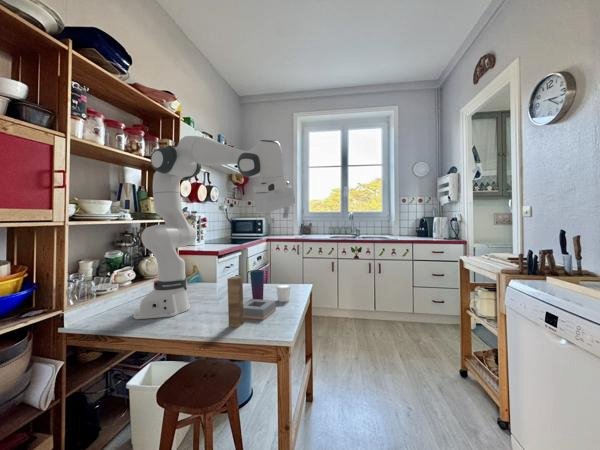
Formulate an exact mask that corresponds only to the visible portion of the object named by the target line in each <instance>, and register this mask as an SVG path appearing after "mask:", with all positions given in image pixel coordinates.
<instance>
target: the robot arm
mask: <svg viewBox="0 0 600 450" xmlns="http://www.w3.org/2000/svg"><path fill="white" fill-rule="evenodd" d="M284 161H285V160H284V155H283V149H282V146H281V144H280V142H279V141H278V140H272V139H271V140H270V139H260V140H259V141H257V143H256V144H255V146H253V147H252V148H250V149H249V150H245V149H242V148H241V149H240V148H237V147H233V146H230V145H228V144H225V143H222V142H219V141H216V140H213V139H211V138H208V137H204V136H198V135H185V136H183V137H182V138H180V139H179V141H178V144H177V146H175V147H174V146H173V145H169V144H168V145H167V146H163V147H158V148H156V149H155V150H154V151H153V152H152V153H151V155H150V165H151V168H153V170H155V172H154V173H153V178H152V198H153V208H154V212H155V213H156V214H157V215H158V216H159V217H161V218H162V220H163V221H164V224H155V225H151V226H148V227H145V228H144V230H143V231H142V233H141V238H140V239H141V243H142V245H143V246H144V247H145V248H146V249H148V251H150V252H151V253H152V254H153V256H154V259H155V261H156V264H157V271H158V273H157V274H158V276H157V277H158V279H154V280H153V289H152V290H151V291H150V292H149V293H148V294H147V295H145V296H144V297H143V298H142V299H141V301H140V303H139V308H138V309H136V311H135V312H134V313H133V317H132V318H133V319H134V320H146V319H147V320H148V319H156V318H168V317H169V318H170V317H175V316H177V315H178V314H181V313H184V312H186V311H188V310H190V309H191V305H190V302H189V298H188V280H187V279H188V278H187V277H186V261H185V260H184V258H182V257H181V256H180V255H178V253H177V250H176V249H177V248H184V247H187V246H189V245H192V244H193V243H194V242H195V241H196V239H197V238H196V237H197V233H196V232H197V231H196V229H195V228H194V227H193V226H192V225H191V224H190V223H189V222H188V221H187V218H186V216H185V214H184V211H183V207H182V198H181V191H180V189H181V188H180V182H181V180H183V181H188V180H190V179H192V178H195V177H197V176H198V175H199V174H200V172H201V171H202V166H209V167H210V166H211V167H212V166H214V167H215V166H224V165H237V169H238V171H239V173H240V174H241V175H242V176H243V177H245V178H257V177H261V180H260V182H258V183H257V184H255V185H254V186H253V188H252V191H253V193H255V194H254V197H253V199H254V201H253V202H254V209H255V212H256V214H258V215H264V218H266V219H267V224H268V225H272V224H274V222H275V220H274V218H272V216H271V215H272V212H275V211H277V210H281V209H283V213H282V218H283V219H287V218H289V213H290V208H291V207H290V206H292V205H295V202H296V199H295V197H296V196H295V192H294V189H293V187H292V184H291V183H290V182H289V181H286V180H287V179H286V174H285V170H284V165H285V163H284Z"/></svg>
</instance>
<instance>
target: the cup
mask: <svg viewBox="0 0 600 450" xmlns="http://www.w3.org/2000/svg"><path fill="white" fill-rule="evenodd" d="M249 275H250V285H251V287H250V288H251V295H252V297H251V299H259V300H264V287H265V286H264V285H265V282H264V281H265V280H264V279H265V269H252V270H249Z"/></svg>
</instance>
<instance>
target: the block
mask: <svg viewBox="0 0 600 450" xmlns="http://www.w3.org/2000/svg"><path fill="white" fill-rule="evenodd" d="M243 282H244V281H243V276H232V277H228V278H227V303H228V304H227V307H228V308H227V309H228V312H227V313H228V326H229V327H232V328H239V327H241V326H242V325H244V324H245V323H244V322H245V318H244V314H243V304H244V293H243V289H244V288H243V287H244V285H243Z"/></svg>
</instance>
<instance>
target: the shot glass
mask: <svg viewBox="0 0 600 450" xmlns="http://www.w3.org/2000/svg"><path fill="white" fill-rule="evenodd" d="M275 287H276V295H277V301H278V302H281V303H284V302H285V303H286V302H289V301H290V296H291V295H290V294H291V285H289V284H278V285H276V286H275Z"/></svg>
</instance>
